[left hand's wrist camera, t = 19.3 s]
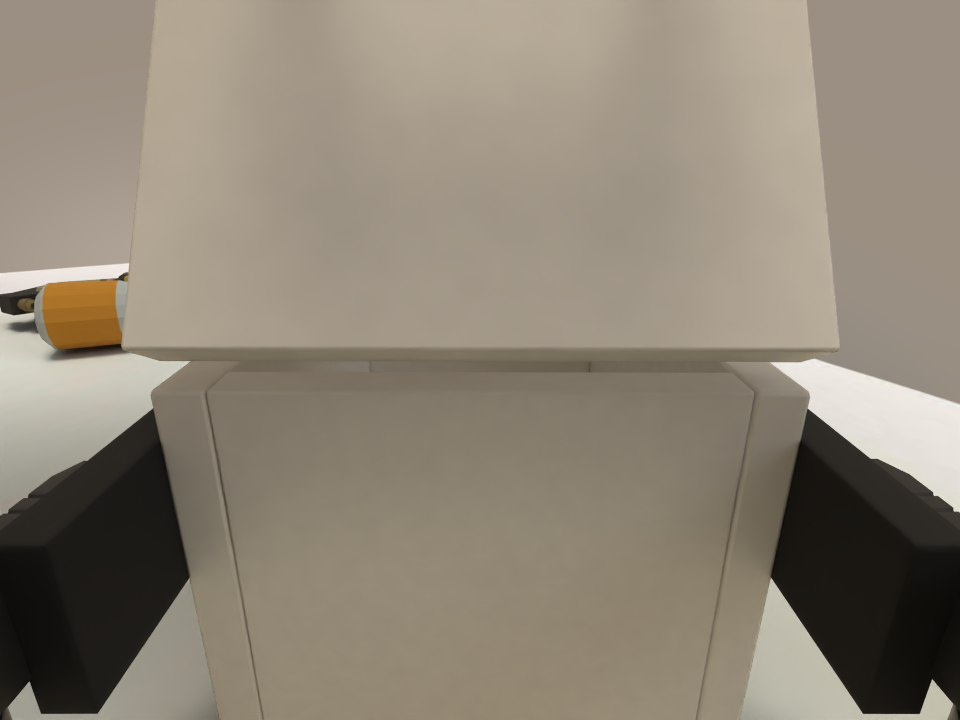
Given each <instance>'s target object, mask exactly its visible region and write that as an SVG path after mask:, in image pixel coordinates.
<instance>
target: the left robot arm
mask: <svg viewBox="0 0 960 720" xmlns="http://www.w3.org/2000/svg"><path fill="white" fill-rule="evenodd" d="M8 511H9V512H8V514H2V515H1V516H0V720H12V717H11V715H10V712H9V709H8V706H9V705H10V704H11V702H12V701H13V700H14V699H15V698H16V696H17V695H18V694H19V693H20V692H21V690H22V689H23V688H24V687H25V686H26V685H27V683H28V682H29V681H30V684H31V686H32V689H33V692H34V695H35V698H36V701H37V703H38V706H39V709H40V712H41V714H98V712H99V711H100V709H101V708H102V706H103V705H104V703H105V702H106V700H107V699H108V697H109V696H110V694H111V693H112V691H113V690H114V688H115V687H116V686H117V684H118V683H119V681H120V680H121V678H122V677H123V675H124V674H125V672H126V671H127V669H128V668H129V666H130V665H131V663H132V662H133V660H134V659H135V657H136V656H137V654H138V653H139V651H140V650H141V649H142V647H143V646H144V644H145V643H146V641H147V640H148V638H149V637H150V635H151V634H152V632H153V631H154V629H155V628H156V626H157V625H158V623H159V622H160V620H161V619H162V617H163V616H164V614H165V613H166V612H167V610H168V609H169V607H170V606H171V604H172V603H173V601H174V600H175V598H176V597H177V595H178V594H179V592H180V591H181V589H182V588H183V586H184V585H185V583H186V582H187V580H188V579H189V573H188V568H187V564H186V559H185V554H184V550H183V545H182V540H181V535H180V531H179V526H178V521H177V517H176V512H175V507H174V503H173V498H172V493H171V489H170V484H169V479H168V475H167V470H166V465H165V460H164V456H163V451H162V446H161V442H160V437H159V432H158V427H157V423H156V418H155V413H154V409H152V410H151V411H149V412H148V413H147V414H146V415H144V416H143V417H142V418H141V419H139V420H138V421H137V422H136V423H134V424H133V425H132V426H131V427H129V428H128V429H127V430H126V431H124V432H123V433H122V434H121V435H119V436H118V437H117V438H116V439H114V440H113V441H112V442H111V443H109V444H108V445H107V446H106V447H104V448H103V449H102V450H101V451H99V452H98V453H97V454H96V455H94V456H93V457H92V458H91V459H89V460H88V461H83V462H81V463H79V464H76V465H74V466H72V467H70V468H68V469H66V470H64V471H62V472H60V473H58V474H56V475H54V476H52V477H51V478H49V479H48V480H47V481H45V482H44V483H43V484H42V485H40V486H39V487H38V488H36V489H35V490H34V491H32V492H31V493H30V494H29V495H28V498H23V499H22V500H21V501H19V502H18V503H17V504H15V505H14V506H13V507H12V508H10V509H9V510H8ZM771 578H772V579H773V581H774V582H775V584H776V585H777V587H778V588H779V590H780V591H781V593H782V594H783V596H784V597H785V599H786V600H787V602H788V603H789V605H790V606H791V608H792V609H793V611H794V612H795V614H796V615H797V616H798V618H799V619H800V621H801V622H802V624H803V625H804V627H805V628H806V630H807V631H808V633H809V634H810V636H811V637H812V639H813V640H814V642H815V643H816V645H817V646H818V648H819V649H820V651H821V652H822V653H823V655H824V656H825V658H826V659H827V661H828V662H829V664H830V665H831V667H832V668H833V670H834V671H835V673H836V674H837V676H838V677H839V679H840V680H841V682H842V683H843V685H844V686H845V688H846V689H847V690H848V692H849V693H850V695H851V696H852V698H853V699H854V701H855V702H856V704H857V705H858V707H859V708H860V710H861V711H862V713H863V714H920V711H921V709H922V706H923V703H924V700H925V697H926V695H927V692H928V689H929V686H930V683H931V680H932V679H933V680H934V682H935V683H936V684H937V685H938V686H939V687H940V689H941V690H942V691H943V692H944V693H945V695H946V696H947V697H948V698H949V699H950V700H951V702H952V703H953V707H952V709H951V712H950V715H949V717H948V720H960V513H959V512H954V511H953V507H952V506H950V505H949V504H948V503H946V502H945V501H944V500H942V499H941V498H940V497H938V496H933V492H932V491H931V490H929V489H928V488H927V487H925V486H924V485H923V484H921V483H920V482H919V481H917V480H916V479H915V478H913V477H912V476H911V475H910V474H908V473H906V472H903V471H901V470H899V469H897V468H895V467H893V466H891V465H889V464H887V463H885V462H883V461H881V460H879V459H870V458H869V457H868V456H866V455H865V454H864V453H863V452H861V451H860V450H859V449H858V448H856V447H855V446H854V445H853V444H851V443H850V442H849V441H848V440H846V439H845V438H844V437H843V436H841V435H840V434H839V433H838V432H836V431H835V430H834V429H833V428H831V427H830V426H829V425H828V424H826V423H825V422H824V421H823V420H821V419H820V418H819V417H817V416H816V415H815V414H814V413H812V412H811V411H810V410H809V409H807V413H806V417H805V422H804V427H803V431H802V436H801V440H800V445H799V449H798V454H797V459H796V463H795V468H794V473H793V477H792V482H791V486H790V491H789V496H788V500H787V505H786V509H785V514H784V519H783V523H782V528H781V532H780V537H779V542H778V546H777V551H776V555H775V560H774V564H773V569H772V574H771Z"/></svg>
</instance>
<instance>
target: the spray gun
mask: <svg viewBox="0 0 960 720" xmlns="http://www.w3.org/2000/svg"><path fill="white" fill-rule="evenodd" d="M128 273H129V272H126V273H123V274H122V275H121V276H119V278H115V279H100V280H85V281H70V282H58V283H48V284H46V285H44V286H39V287H35V288H31V289H27V290H22V291H18V292H14V293H7V294H0V308H1V311H2V312H3V313H7V314H11V315H20V314H26V313H33V312H34V317H35V324H36V327H37V330H38V332H39V334H40V336H41V338H42V339H43V340H44V341H45V342H46V343H48V344H49V345H51V346H52V347H53V348H55V349H58V350H61V349H71V348H81V347H92V346H102V345H112V344H121V343H122V333H123V323H124V313H125V303H126V293H127V283H128Z"/></svg>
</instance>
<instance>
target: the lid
mask: <svg viewBox="0 0 960 720" xmlns="http://www.w3.org/2000/svg"><path fill="white" fill-rule="evenodd" d="M121 347H122V349H123V350H125V351H128V352H131V353H135V354H138V355H142V356H145V357H149V358H152V359H156V360H159V361H460V362H803V361H806V360H810V359H813V358H817V357H820V356H824V355H828V354H831V353H835V352H837V351H839V348H840V342H839V332H838V322H837V311H836V301H835V291H834V281H833V270H832V260H831V249H830V239H829V229H828V218H827V208H826V198H825V188H824V177H823V167H822V157H821V146H820V136H819V126H818V115H817V105H816V95H815V84H814V74H813V64H812V53H811V43H810V33H809V23H808V12H807V2H806V0H156V3H155V13H154V24H153V33H152V44H151V53H150V63H149V73H148V83H147V94H146V103H145V113H144V124H143V133H142V143H141V153H140V163H139V173H138V183H137V193H136V203H135V213H134V223H133V233H132V243H131V253H130V263H129V273H128V283H127V293H126V303H125V313H124V323H123V333H122V343H121Z"/></svg>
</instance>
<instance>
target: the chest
mask: <svg viewBox="0 0 960 720" xmlns="http://www.w3.org/2000/svg"><path fill="white" fill-rule="evenodd" d="M151 399H152V404H153V409H154V413H155V418H156V423H157V427H158V432H159V437H160V442H161V446H162V451H163V456H164V460H165V465H166V470H167V475H168V479H169V484H170V489H171V493H172V498H173V503H174V507H175V512H176V517H177V521H178V526H179V531H180V535H181V540H182V545H183V550H184V554H185V559H186V564H187V568H188V573H189V578H190V583H191V588H192V592H193V597H194V602H195V607H196V611H197V616H198V621H199V625H200V630H201V635H202V639H203V644H204V649H205V654H206V658H207V663H208V668H209V672H210V677H211V682H212V687H213V691H214V696H215V701H216V705H217V710H218V715H219V720H740V716H741V712H742V707H743V702H744V698H745V693H746V689H747V684H748V679H749V675H750V670H751V666H752V661H753V656H754V652H755V647H756V643H757V638H758V633H759V629H760V624H761V620H762V615H763V610H764V606H765V601H766V597H767V592H768V587H769V583H770V578H771V574H772V569H773V564H774V560H775V555H776V551H777V546H778V542H779V537H780V532H781V528H782V523H783V519H784V514H785V509H786V505H787V500H788V496H789V491H790V486H791V482H792V477H793V473H794V468H795V463H796V459H797V454H798V449H799V445H800V440H801V436H802V431H803V427H804V422H805V417H806V413H807V408H808V404H809V399H810V395H809V392H808V391H807V390H806V389H804V388H803V387H802V386H800V385H799V384H798V383H796V382H795V381H794V380H792V379H791V378H790V377H788V376H787V375H786V374H784V373H783V372H782V371H780V370H779V369H778V368H776V367H775V366H774V365H772V364H771V363H770V362H460V361H191V362H190V363H188V364H187V365H186V366H184V367H183V368H182V369H180V370H179V371H178V372H176V373H175V374H173V375H172V376H171V377H169V378H168V379H167V380H165V381H164V382H163V383H161V384H160V385H159V386H157V387H156V388H155V389H153V390H152V392H151Z"/></svg>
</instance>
